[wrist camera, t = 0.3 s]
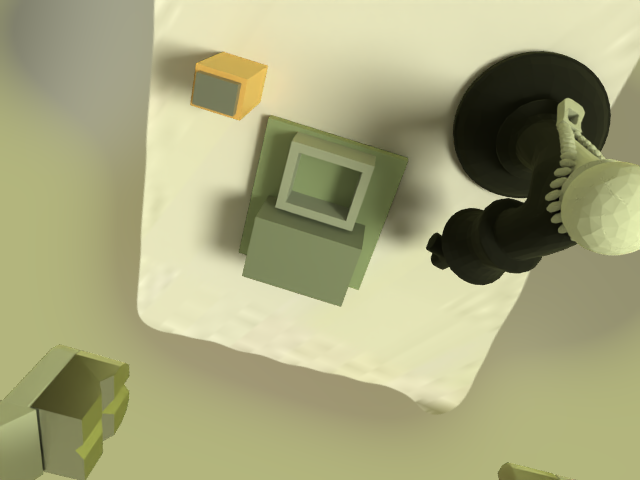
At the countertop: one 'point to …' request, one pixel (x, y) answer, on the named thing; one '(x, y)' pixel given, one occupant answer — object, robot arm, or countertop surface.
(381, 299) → the countertop surface
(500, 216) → the sculpture
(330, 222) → the green plate with frame
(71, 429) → the robot arm
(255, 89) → the yellow box green face
